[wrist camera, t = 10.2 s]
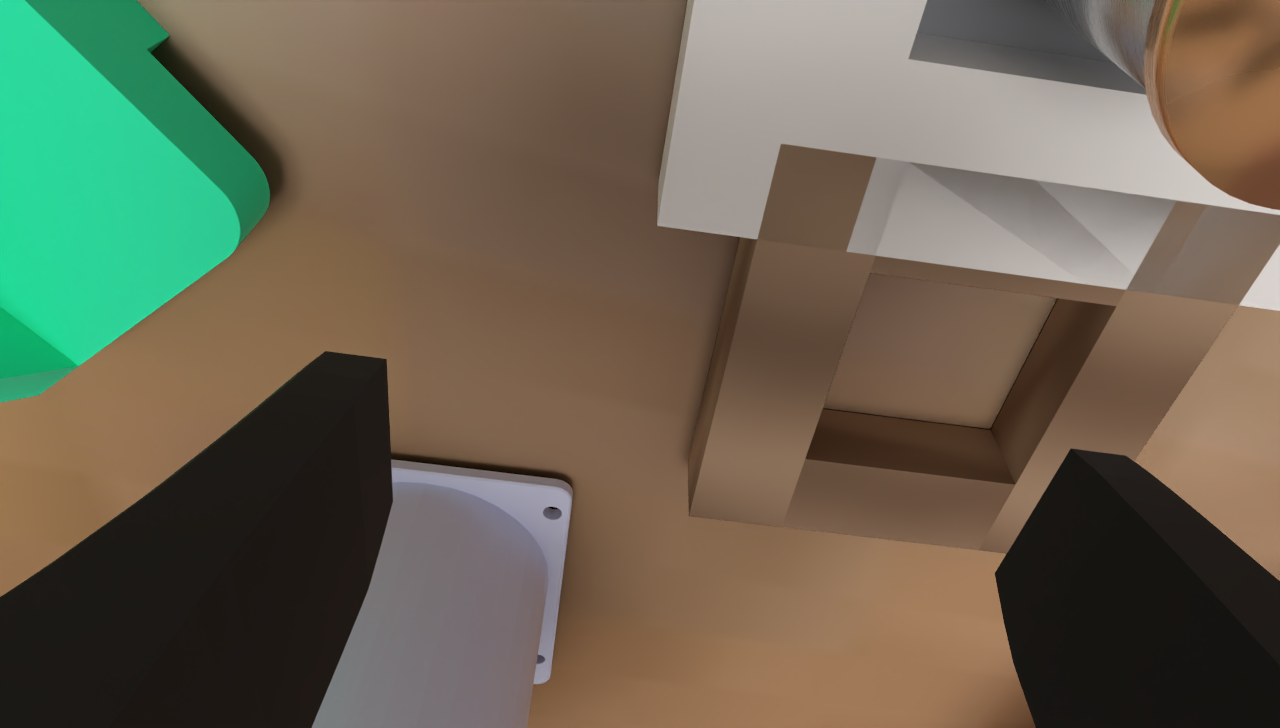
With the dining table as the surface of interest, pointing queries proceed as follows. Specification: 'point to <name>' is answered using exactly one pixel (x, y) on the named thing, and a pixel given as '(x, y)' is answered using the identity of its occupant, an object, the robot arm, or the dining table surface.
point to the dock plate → (933, 133)
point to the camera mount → (102, 184)
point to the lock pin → (1200, 80)
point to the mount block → (922, 451)
